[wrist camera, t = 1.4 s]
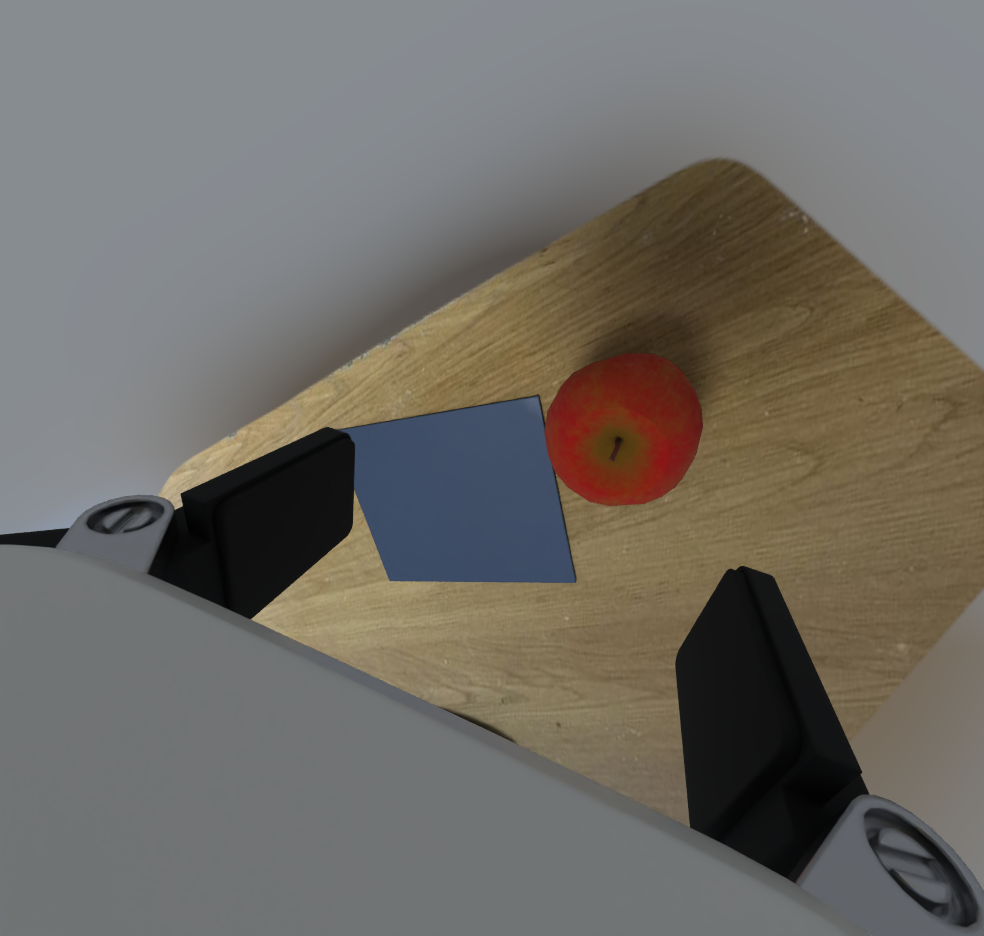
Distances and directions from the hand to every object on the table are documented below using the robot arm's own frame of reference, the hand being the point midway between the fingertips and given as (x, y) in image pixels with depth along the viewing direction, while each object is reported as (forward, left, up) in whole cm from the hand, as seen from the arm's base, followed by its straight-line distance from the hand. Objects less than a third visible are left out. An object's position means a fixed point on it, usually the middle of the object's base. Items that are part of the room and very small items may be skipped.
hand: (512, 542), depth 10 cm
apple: (+2, +2, -22) cm, 22 cm away
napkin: (+9, -14, -22) cm, 28 cm away
